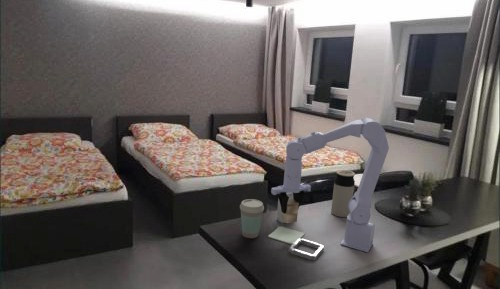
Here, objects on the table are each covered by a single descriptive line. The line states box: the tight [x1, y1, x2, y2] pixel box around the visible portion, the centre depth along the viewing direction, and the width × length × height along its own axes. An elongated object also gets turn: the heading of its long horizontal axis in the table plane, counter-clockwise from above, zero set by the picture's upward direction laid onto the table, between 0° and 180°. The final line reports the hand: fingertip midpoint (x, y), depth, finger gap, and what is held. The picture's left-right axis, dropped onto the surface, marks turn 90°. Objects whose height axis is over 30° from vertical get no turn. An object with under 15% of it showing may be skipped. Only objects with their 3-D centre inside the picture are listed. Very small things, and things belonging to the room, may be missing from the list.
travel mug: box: [330, 169, 356, 218], centre depth 156 cm, size 8×8×18 cm
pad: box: [267, 225, 306, 246], centre depth 135 cm, size 10×10×1 cm
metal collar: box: [288, 238, 325, 261], centre depth 125 cm, size 9×9×2 cm
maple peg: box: [281, 199, 300, 224], centre depth 132 cm, size 4×4×7 cm
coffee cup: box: [239, 198, 265, 239], centre depth 133 cm, size 9×9×12 cm
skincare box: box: [276, 192, 293, 224], centre depth 147 cm, size 6×4×12 cm
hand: (289, 211), depth 133 cm, fingers closed on maple peg, 4 cm apart
